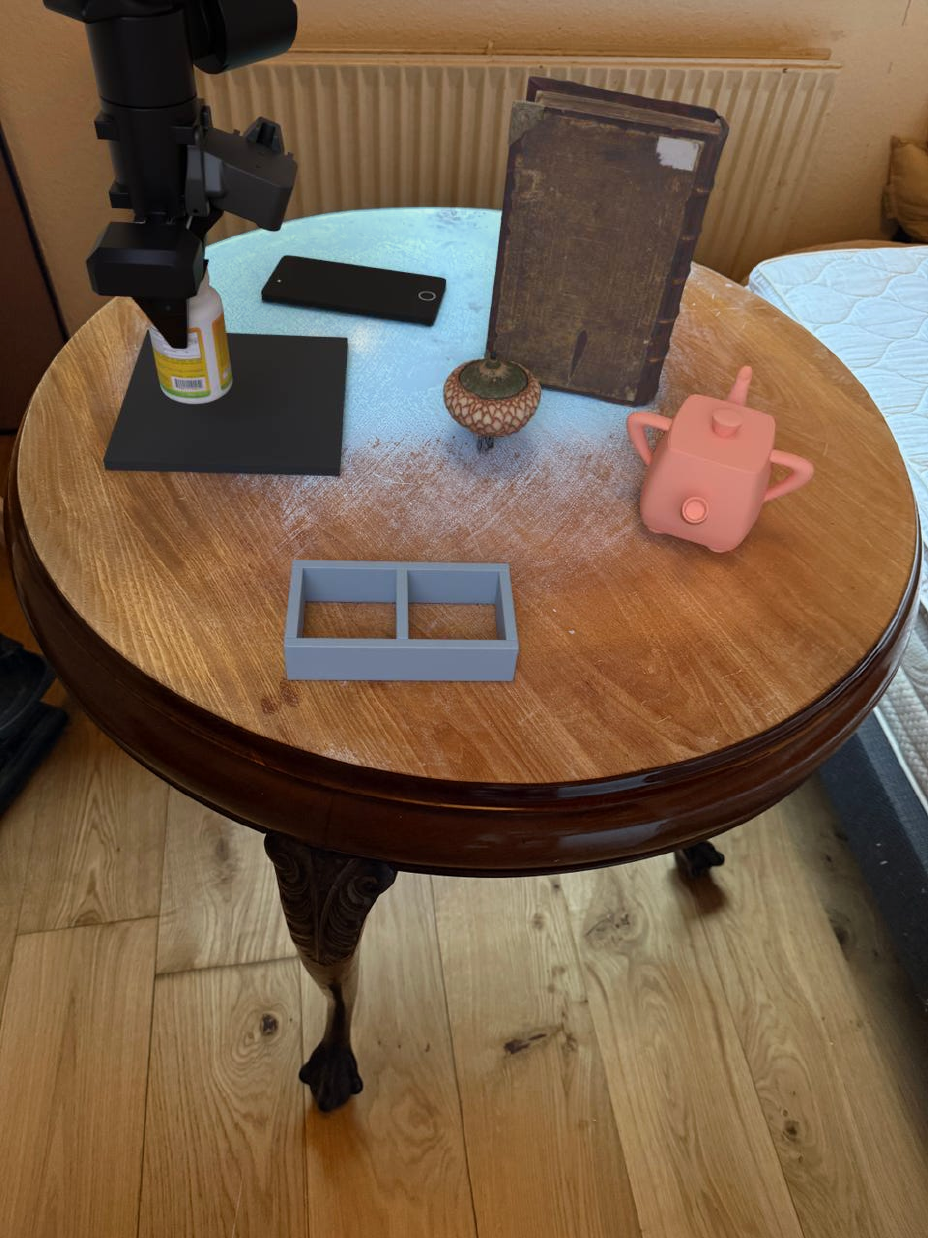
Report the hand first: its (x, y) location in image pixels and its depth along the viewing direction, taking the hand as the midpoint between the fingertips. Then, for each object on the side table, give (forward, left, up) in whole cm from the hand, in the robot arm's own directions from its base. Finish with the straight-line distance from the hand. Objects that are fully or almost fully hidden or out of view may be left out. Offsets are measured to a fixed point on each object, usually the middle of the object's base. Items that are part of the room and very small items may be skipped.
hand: (186, 326), depth 67 cm
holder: (+16, -18, -13) cm, 27 cm away
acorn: (+23, +3, -13) cm, 27 cm away
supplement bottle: (0, 0, -5) cm, 5 cm away
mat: (+1, +9, -13) cm, 16 cm away
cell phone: (+11, +29, -13) cm, 34 cm away
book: (+32, +14, -13) cm, 38 cm away
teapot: (+40, -5, -13) cm, 43 cm away
